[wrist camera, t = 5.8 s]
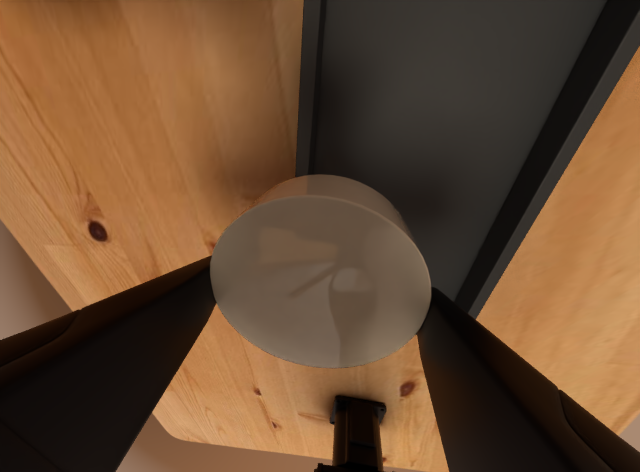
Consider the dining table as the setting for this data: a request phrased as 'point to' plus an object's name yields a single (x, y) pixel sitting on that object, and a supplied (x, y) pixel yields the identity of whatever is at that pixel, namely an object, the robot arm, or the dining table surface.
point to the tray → (458, 114)
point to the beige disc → (322, 274)
